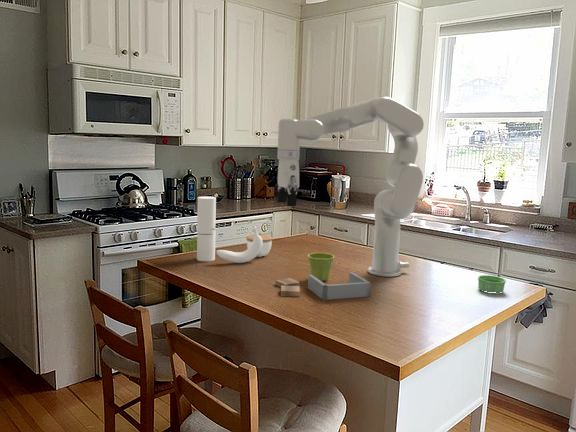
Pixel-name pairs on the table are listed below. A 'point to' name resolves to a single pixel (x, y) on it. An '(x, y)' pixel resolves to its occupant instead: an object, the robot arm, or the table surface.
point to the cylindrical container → (206, 228)
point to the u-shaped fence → (340, 288)
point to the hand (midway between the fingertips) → (286, 204)
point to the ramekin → (491, 283)
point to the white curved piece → (245, 255)
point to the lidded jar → (265, 245)
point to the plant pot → (320, 265)
